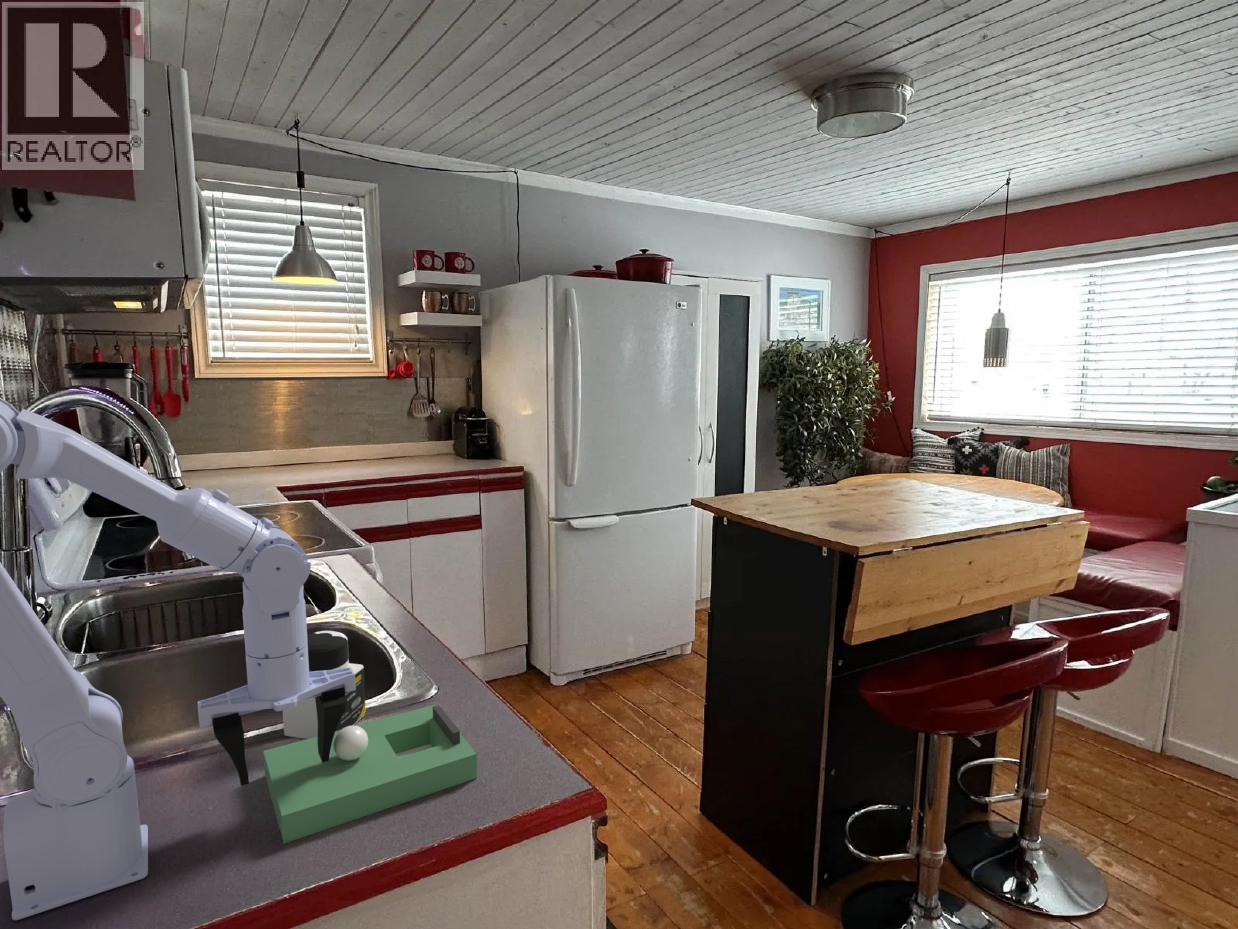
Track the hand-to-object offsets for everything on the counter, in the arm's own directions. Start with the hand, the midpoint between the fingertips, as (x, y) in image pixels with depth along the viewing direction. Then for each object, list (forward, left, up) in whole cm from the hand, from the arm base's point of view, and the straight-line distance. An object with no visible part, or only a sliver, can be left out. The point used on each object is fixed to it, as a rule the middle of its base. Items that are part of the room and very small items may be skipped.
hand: (284, 768), depth 74 cm
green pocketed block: (+9, 0, -4) cm, 10 cm away
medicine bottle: (+7, +14, -4) cm, 16 cm away
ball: (+7, 0, +1) cm, 7 cm away
